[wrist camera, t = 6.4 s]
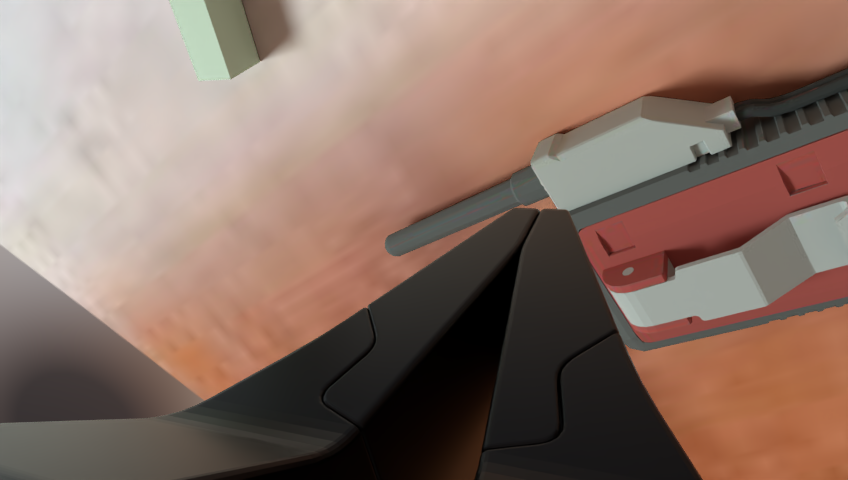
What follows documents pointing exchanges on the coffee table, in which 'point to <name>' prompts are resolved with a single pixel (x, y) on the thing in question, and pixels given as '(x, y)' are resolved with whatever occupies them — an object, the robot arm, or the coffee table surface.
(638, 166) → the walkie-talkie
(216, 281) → the coffee table surface
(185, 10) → the green u-shaped bracket
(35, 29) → the coffee table surface
